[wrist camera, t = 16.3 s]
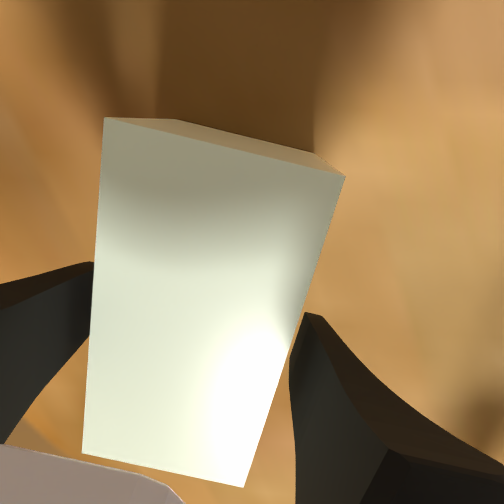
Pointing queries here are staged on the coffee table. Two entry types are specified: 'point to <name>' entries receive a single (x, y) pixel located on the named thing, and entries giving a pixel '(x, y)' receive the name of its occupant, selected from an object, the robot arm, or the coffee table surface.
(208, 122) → the coffee table surface
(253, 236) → the pale green block
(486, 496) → the robot arm
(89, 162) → the coffee table surface
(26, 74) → the coffee table surface
